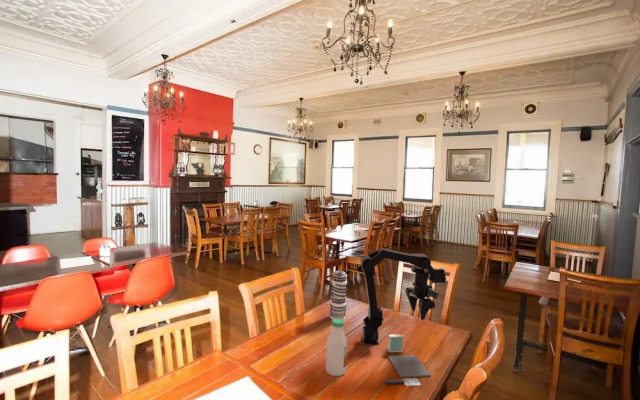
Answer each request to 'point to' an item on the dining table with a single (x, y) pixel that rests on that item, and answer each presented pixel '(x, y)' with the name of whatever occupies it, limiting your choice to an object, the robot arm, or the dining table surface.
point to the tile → (395, 343)
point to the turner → (404, 382)
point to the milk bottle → (336, 349)
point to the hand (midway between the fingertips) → (417, 315)
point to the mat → (408, 366)
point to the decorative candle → (338, 295)
